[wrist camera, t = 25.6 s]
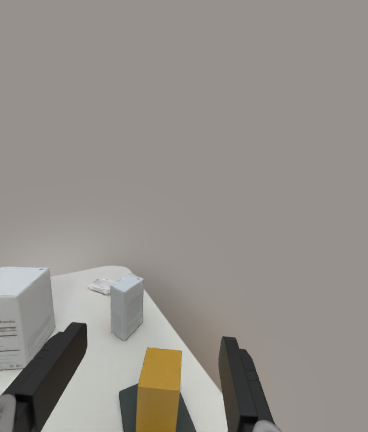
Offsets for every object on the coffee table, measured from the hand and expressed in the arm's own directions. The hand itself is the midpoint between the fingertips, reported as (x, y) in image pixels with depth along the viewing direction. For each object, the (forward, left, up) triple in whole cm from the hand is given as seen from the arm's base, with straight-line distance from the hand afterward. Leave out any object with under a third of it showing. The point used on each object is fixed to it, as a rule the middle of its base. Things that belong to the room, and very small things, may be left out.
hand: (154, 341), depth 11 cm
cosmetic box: (+28, -4, -26) cm, 38 cm away
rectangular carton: (+31, +16, -26) cm, 44 cm away
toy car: (+45, 0, -26) cm, 52 cm away
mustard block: (+9, -5, -25) cm, 27 cm away
